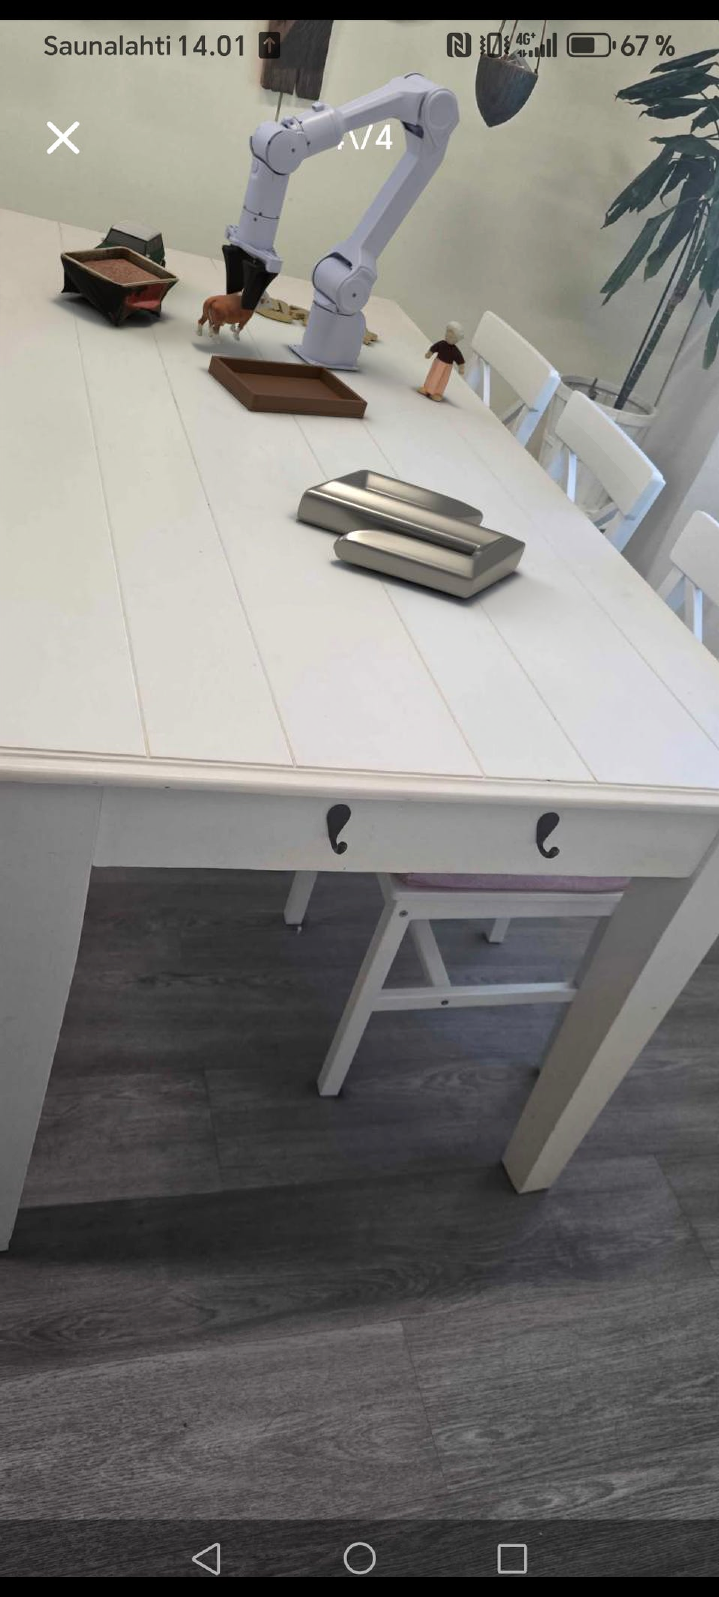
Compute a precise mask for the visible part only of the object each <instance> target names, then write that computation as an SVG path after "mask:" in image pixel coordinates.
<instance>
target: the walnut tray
mask: <svg viewBox="0 0 719 1597" xmlns="http://www.w3.org/2000/svg"><path fill="white" fill-rule="evenodd" d="M207 371H208V373H209V374H210V375H211V376H213V377H214V379H215V380H216V381H218V383H220V384H221V385H222V386H223V387H224V388H225V389H226V390H227V391H228V392H230V394H232V395H233V396H234V397H235V398H236V399H237V400H238V401H239V402H240V403H241V404H242V405H243V406H245V408H247V409H248V410H249V411H251V412H264V413H265V412H266V413H278V414H279V413H281V414H294V415H295V414H296V415H309V416H310V415H311V416H325V417H340V418H341V417H342V418H354V419H356V418H357V419H364V416H365V413H366V410H367V407H368V404H369V402H367V400H365V399H364V398H363V397H362V396H360V395H359V394H358V393H357V392H356V391H355V390H353V389H352V388H351V387H350V386H348V385H347V384H346V383H345V382H343V381H342V380H341V379H340V378H339V377H338V376H336V375H335V374H334V373H333V372H331V371H330V370H329V368H325V367H324V366H319V365H310V364H309V363H299V362H298V363H296V362H286V361H278V360H277V361H276V360H275V361H274V360H264V359H254V358H243V357H234V356H222V355H211V357H210V361H209V365H208V370H207Z"/></svg>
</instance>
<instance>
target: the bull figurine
mask: <svg viewBox="0 0 719 1597" xmlns="http://www.w3.org/2000/svg"><path fill="white" fill-rule="evenodd" d="M242 294H243V290H242V291H240V292H237V293H234V294H228V295H226V294H218V295H212V296H209V297H208V298H206V299H205V300H204V302H203V304H202V315H201V317H200V318H199V319H198V320H197V328H196V330H195V334H196V335H197V336H199V337H203V326H204V325H205V323H207V321H208V328H207V330H208V336H209V337H212V336H213V335H214V336H213V341H214V342H215V343H217V345H221V344H222V343H223V342H222V340H221V338H220V328H221V327H224V326H225V325H226V324H227V325H230V326H229V330H230V331H231V332H232V333H233V334H232V337H233V338H234V340H235V341H238V342H239V341H240V340H241V339H240V332H241V331H243V330H244V327H245V326H246V325H247V324H248V322H249V321H250V320H251V319H252V317H253V316H254V313H255V312H257V311H260V310H263V309H267V310H268V311H271V310H272V309H273V306H272V304H271V300H270V298H271V297H270V295H269V294H268V291H267V289H266V290H265V292H264V293H263V295H262V297H261V299H260V301H259V303H258V305H257V306H256V308H255V310H254V311H253V310H244V309H243V308H242V307H241V301H242ZM236 324H238V325H236ZM236 326H237V328H236Z"/></svg>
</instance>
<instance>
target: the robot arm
mask: <svg viewBox="0 0 719 1597" xmlns="http://www.w3.org/2000/svg"><path fill="white" fill-rule="evenodd" d="M389 119H395V120H398V121H399V122H400V124H401V128H402V129H403V132H404V137H405V146H406V150H405V152H404V153H403V155H402V156H401V158H400V160H399V161H398V162H397V164H396V166H395V167H394V169H393V170H392V172H391V173H390V175H388V178H387V179H386V181H385V182H384V183H383V185H382V186H381V189H380V190H379V192H378V193H377V194H376V196H375V197H374V199H373V200H372V202H371V204H370V205H369V206H368V208H367V210H366V211H365V213H364V214H363V215H362V217H361V219H360V220H359V222H358V223H357V224H356V226H355V228H354V229H353V231H352V232H351V234H350V236H348V238H346V239H345V240H341V241H339V242H337V243H335V244H333V245H332V247H331V248H330V250H329V251H328V252H327V253H326V254H325V255H323V256H321V257H320V258H319V259H318V260H317V261H316V262H315V264H314V265H313V267H312V270H311V275H310V280H311V284H312V287H313V289H314V290H313V294H312V296H313V298H312V302H311V305H310V310H309V311H310V313H309V317H308V321H307V324H306V325H305V328H304V332H303V335H302V340H301V343H300V344H292V343H291V344H289V346H288V347H289V349H291V350H292V351H293V352H294V353H295V354H297V355H298V356H299V357H300V358H302V360H304V361H305V362H306V363H307V364H308V365H319V366H324V367H325V368H327V369H335V370H346V371H358V370H359V367H358V366H357V364H358V360H359V357H360V353H361V350H362V346H363V343H364V342H363V340H364V337H365V333H366V327H367V319H366V317H365V314H364V312H363V311H362V310H363V309H364V307H365V306H366V305H367V304H368V302H369V299H370V296H371V291H372V289H373V286H374V284H375V283H376V281H377V280H378V268H377V260H378V258H379V257H380V255H381V254H382V253H383V251H384V250H385V248H386V247H387V245H388V244H389V242H390V241H391V240H392V238H393V236H394V234H395V233H397V230H398V228H400V226H401V224H402V223H403V221H404V220H405V218H406V217H407V215H408V214H409V212H410V211H411V210H412V208H413V206H414V205H415V204H416V202H417V201H418V199H419V197H420V196H421V194H422V193H423V192H424V190H425V189H426V187H427V186H428V184H429V182H430V181H431V180H432V178H433V177H434V175H435V174H436V172H437V170H438V169H439V168H440V166H441V165H442V163H443V162H444V159H445V156H446V155H445V154H446V152H447V148H448V145H449V141H450V137H451V135H452V133H453V132H454V130H455V129H456V128H457V126H458V125H459V123H460V112H459V102H458V98H457V96H456V94H455V92H454V91H453V90H451V89H450V88H448V87H445V86H442V85H440V84H438V83H436V82H434V81H432V80H430V79H428V78H426V77H425V75H423V74H422V73H420V72H417V71H411V72H408V73H405V74H404V75H402V76H401V75H400V76H394V77H393V78H392V79H391V80H390V81H389V82H388V83H387V84H385V85H383V86H380V87H379V88H377V89H374V90H372V91H370V92H368V93H366V94H364V95H362V96H360V97H357V98H356V99H354V100H353V99H352V100H351V101H349V102H347V103H345V104H342V105H341V106H339V107H334V106H333V105H331V104H329V103H322V102H320V101H316V102H314V103H311V109H308V110H305V111H303V112H300V113H297V114H295V115H291V114H287V115H285V116H283V117H282V120H281V122H278V121H274V120H272V119H271V120H266V121H264V122H262V123H261V124H259V125H258V126H257V128H256V129H255V131H254V132H253V135H250V136H249V139H248V146H249V151H250V153H251V156H252V158H251V159H252V160H251V164H250V167H251V168H250V172H249V176H248V181H247V184H246V185H247V186H246V190H245V194H244V197H243V198H244V199H243V203H242V206H241V212H240V215H239V216H240V217H239V220H238V224H237V225H234V224H233V225H232V224H226V226H225V229H224V230H225V231H224V236H223V237H224V239H226V240H228V242H229V244H222V245H221V251H222V255H223V260H224V266H225V295H228V294H234V293H237V292H240V291H243V294H242V301H241V307H242V308H243V309H244V310H253V311H254V310H255V308H256V306H257V305H258V303H259V301H260V299H261V297H262V295H263V293H264V292H265V290H266V291H267V288H268V287H269V286H270V284H271V283H272V282H273V281H274V280H275V279H276V278H277V277H278V276H279V274H280V273H281V270H282V265H283V262H284V261H283V260H282V258H280V257H279V255H278V253H277V251H276V249H275V248H274V244H275V239H276V236H277V231H278V226H279V222H280V218H281V213H282V209H283V206H284V202H285V197H286V193H287V190H288V185H289V181H290V176H291V174H292V173H295V171H297V169H298V168H299V167H300V166H301V165H302V162H303V161H305V159H308V158H311V157H312V156H315V155H318V154H320V153H323V152H325V151H327V150H331V149H333V148H334V147H337V146H339V145H340V144H341V143H342V141H343V138H344V136H345V134H346V133H349V132H352V131H355V130H358V129H362V128H365V127H367V126H370V125H374V124H377V123H379V122H383V121H386V120H389Z"/></svg>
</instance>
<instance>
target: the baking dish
mask: <svg viewBox="0 0 719 1597" xmlns="http://www.w3.org/2000/svg"><path fill="white" fill-rule="evenodd" d="M59 258H60V261H61V265H62V268H63V288H62V290H61V291H60V293H61V294H66V293H68V294H78V295H82V296H83V297H84V298H85V299H87V300H88V301H89V302H90V303H91V304H92V305H93V306H94V307H95V308H96V309H97V310H98V311H100V312H101V313H102V314H103V315H104V316H105V317H106V318H107V319H108V320H109V321H110V322H111V323H112V324H113V325H114V327H116V328H117V327H118V325H119V324H121V322H122V321H124V319H126V318H127V317H130V315H132V314H133V313H135V312H136V311H138V310H140V311H142V312H143V311H144V312H146V313H148V314H151V315H153V316H154V317H156V318H160V319H161V318H162V303H163V301H164V300H165V298H166V296H167V294H168V293H169V291H171V289H173V287H174V286H175V285H176V284H177V283H178V282H179V281H180V278H179V276H178V275H176V273H173V272H172V271H171V270H169V269H167V268H166V267H165V268H164V267H162V266H160V265H158V264H157V263H155V262H153V261H151V260H150V259H148V258H146V257H144V256H142V255H140V254H138V253H137V252H135V251H133V250H131V249H129V248H126V247H122V246H121V247H109V248H97V249H94V248H90V249H80V250H71V251H63V252H61V253H60V256H59Z"/></svg>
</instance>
